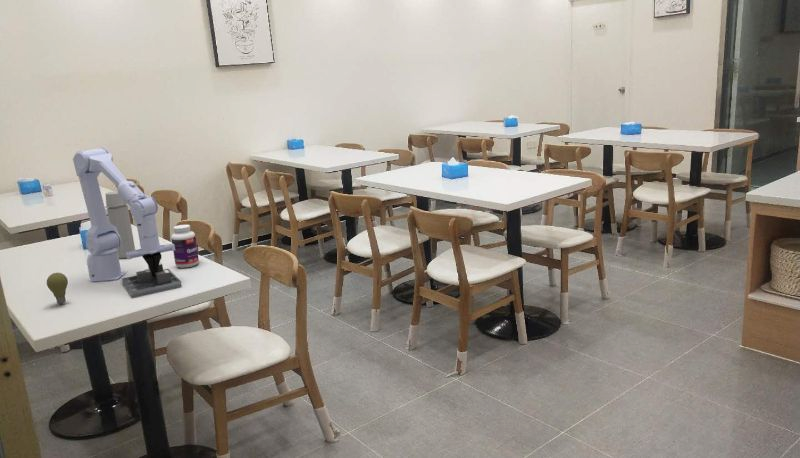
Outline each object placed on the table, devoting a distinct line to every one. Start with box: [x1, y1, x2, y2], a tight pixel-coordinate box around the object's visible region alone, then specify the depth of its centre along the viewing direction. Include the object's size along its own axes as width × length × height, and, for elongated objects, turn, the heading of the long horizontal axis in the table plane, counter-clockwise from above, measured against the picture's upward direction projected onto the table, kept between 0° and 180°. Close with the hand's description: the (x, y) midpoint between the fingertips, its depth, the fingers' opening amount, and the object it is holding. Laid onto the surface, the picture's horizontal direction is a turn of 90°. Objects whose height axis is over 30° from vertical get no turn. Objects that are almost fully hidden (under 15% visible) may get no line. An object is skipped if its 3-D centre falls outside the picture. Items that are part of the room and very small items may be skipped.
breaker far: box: [147, 262, 164, 277], centre depth 203 cm, size 4×3×4 cm
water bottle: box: [104, 190, 136, 260], centre depth 231 cm, size 9×8×25 cm
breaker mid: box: [135, 268, 153, 284], centre depth 197 cm, size 4×3×4 cm
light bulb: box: [46, 272, 69, 306], centre depth 185 cm, size 6×6×10 cm
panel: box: [120, 268, 182, 299], centre depth 198 cm, size 15×17×2 cm
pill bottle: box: [170, 224, 200, 269], centre depth 216 cm, size 8×8×14 cm
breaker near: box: [155, 269, 172, 285], centre depth 194 cm, size 4×3×4 cm
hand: (155, 275), depth 198 cm, fingers closed
